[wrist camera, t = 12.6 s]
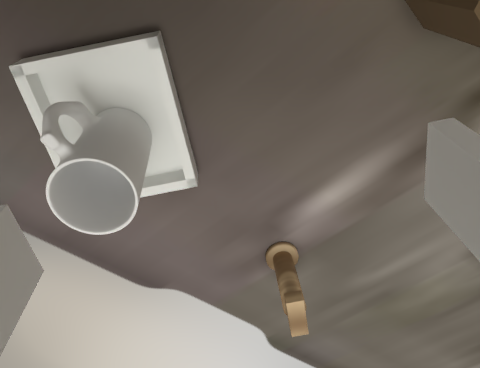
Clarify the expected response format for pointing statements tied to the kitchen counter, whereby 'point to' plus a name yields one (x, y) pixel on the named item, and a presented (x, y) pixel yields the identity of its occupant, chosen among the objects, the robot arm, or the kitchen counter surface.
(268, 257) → the post
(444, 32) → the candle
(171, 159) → the tray
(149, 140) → the mug
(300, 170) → the kitchen counter surface
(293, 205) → the kitchen counter surface
